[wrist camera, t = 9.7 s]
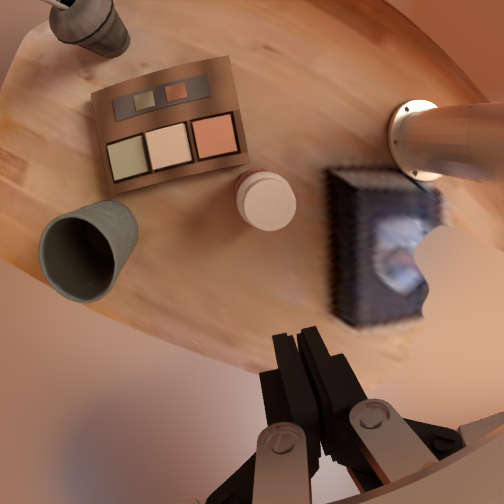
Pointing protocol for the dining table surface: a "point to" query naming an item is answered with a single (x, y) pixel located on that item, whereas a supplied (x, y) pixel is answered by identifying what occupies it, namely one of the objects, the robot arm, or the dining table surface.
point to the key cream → (168, 146)
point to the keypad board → (169, 116)
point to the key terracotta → (214, 136)
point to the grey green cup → (87, 249)
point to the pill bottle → (264, 199)
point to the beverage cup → (89, 25)
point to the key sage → (129, 157)
